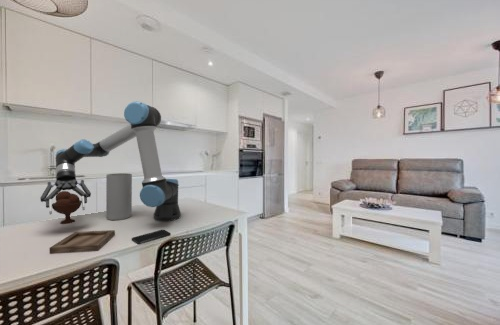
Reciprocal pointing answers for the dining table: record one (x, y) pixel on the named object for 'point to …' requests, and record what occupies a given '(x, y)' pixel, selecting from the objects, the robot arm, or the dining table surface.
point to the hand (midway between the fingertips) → (67, 210)
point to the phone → (150, 236)
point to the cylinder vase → (118, 196)
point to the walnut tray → (83, 241)
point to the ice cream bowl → (66, 205)
